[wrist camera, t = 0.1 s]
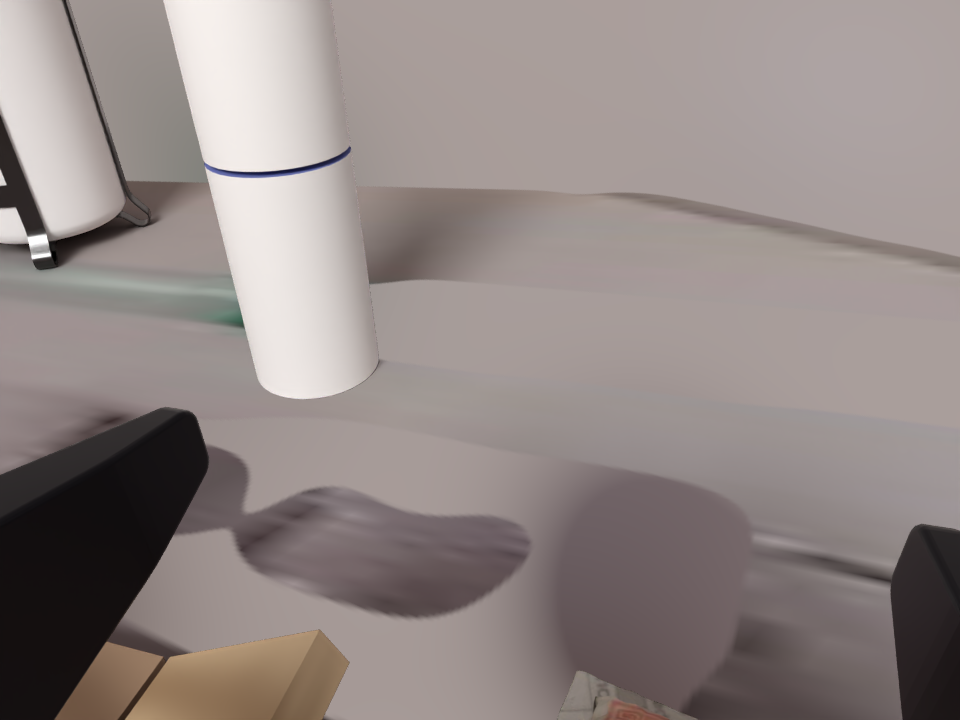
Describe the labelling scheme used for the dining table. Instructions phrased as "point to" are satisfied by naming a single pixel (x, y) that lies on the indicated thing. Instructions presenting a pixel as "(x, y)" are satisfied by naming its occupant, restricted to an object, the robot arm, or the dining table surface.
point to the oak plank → (247, 682)
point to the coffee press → (52, 134)
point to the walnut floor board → (112, 684)
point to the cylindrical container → (282, 185)
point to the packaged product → (611, 703)
